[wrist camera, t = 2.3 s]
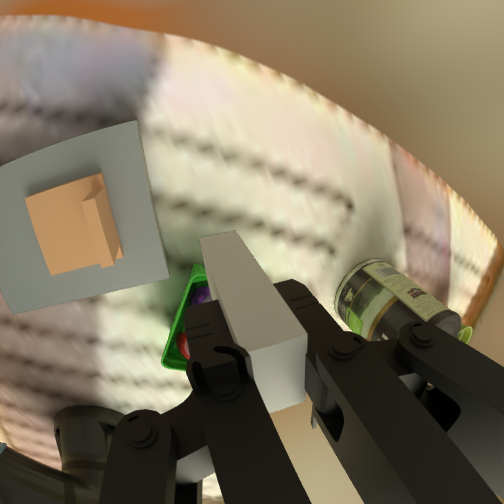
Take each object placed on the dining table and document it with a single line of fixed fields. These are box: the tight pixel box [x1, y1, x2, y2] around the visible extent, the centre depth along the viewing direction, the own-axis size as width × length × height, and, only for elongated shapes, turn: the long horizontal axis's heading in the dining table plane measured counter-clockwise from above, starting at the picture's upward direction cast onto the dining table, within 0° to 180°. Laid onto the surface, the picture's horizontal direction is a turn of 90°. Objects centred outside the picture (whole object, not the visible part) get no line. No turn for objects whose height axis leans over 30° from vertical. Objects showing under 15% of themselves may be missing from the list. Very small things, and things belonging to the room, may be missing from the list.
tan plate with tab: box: [25, 172, 124, 276], centre depth 19 cm, size 7×7×4 cm
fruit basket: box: [161, 264, 213, 371], centre depth 27 cm, size 11×9×11 cm
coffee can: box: [335, 259, 461, 341], centre depth 33 cm, size 10×10×14 cm
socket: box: [0, 120, 170, 314], centre depth 22 cm, size 14×18×3 cm
